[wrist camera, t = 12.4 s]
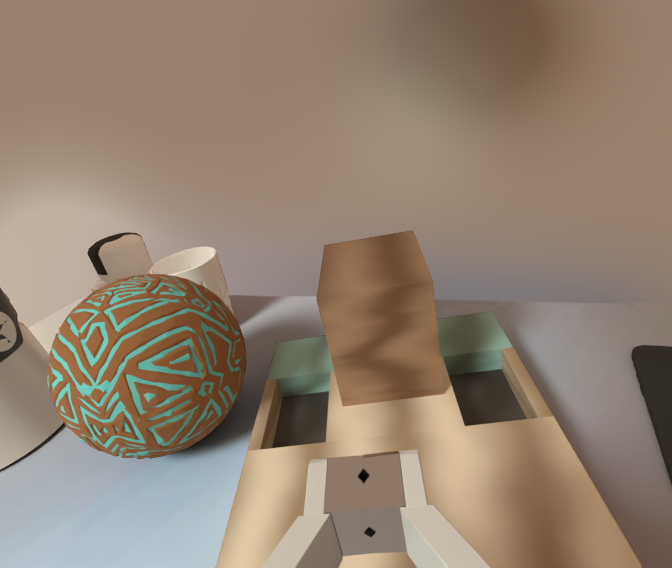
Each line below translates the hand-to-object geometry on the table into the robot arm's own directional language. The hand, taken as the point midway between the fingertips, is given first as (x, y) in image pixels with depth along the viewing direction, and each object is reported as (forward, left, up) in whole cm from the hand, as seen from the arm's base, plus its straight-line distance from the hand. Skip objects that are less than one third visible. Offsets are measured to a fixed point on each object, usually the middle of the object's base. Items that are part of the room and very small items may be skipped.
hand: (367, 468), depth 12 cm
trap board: (0, +16, -16) cm, 23 cm away
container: (-32, +41, -17) cm, 54 cm away
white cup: (-22, +37, -17) cm, 46 cm away
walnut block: (+1, +22, -14) cm, 26 cm away
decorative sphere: (-19, +20, -17) cm, 32 cm away
